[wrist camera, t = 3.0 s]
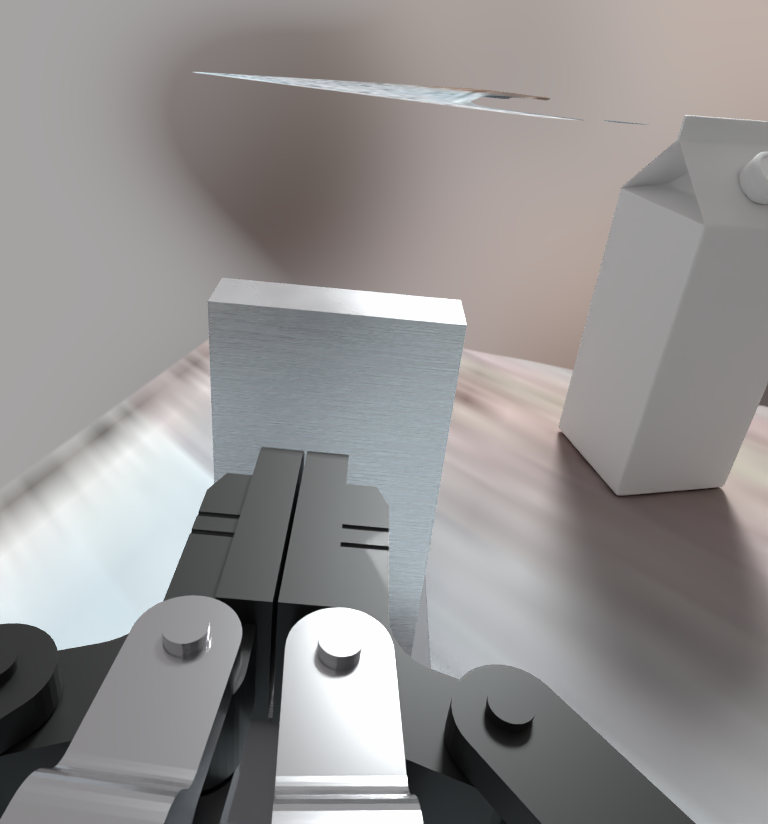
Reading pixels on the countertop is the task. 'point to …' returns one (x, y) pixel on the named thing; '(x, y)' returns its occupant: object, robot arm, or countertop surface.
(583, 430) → the milk carton
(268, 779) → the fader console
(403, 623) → the fader tab
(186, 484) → the countertop surface
